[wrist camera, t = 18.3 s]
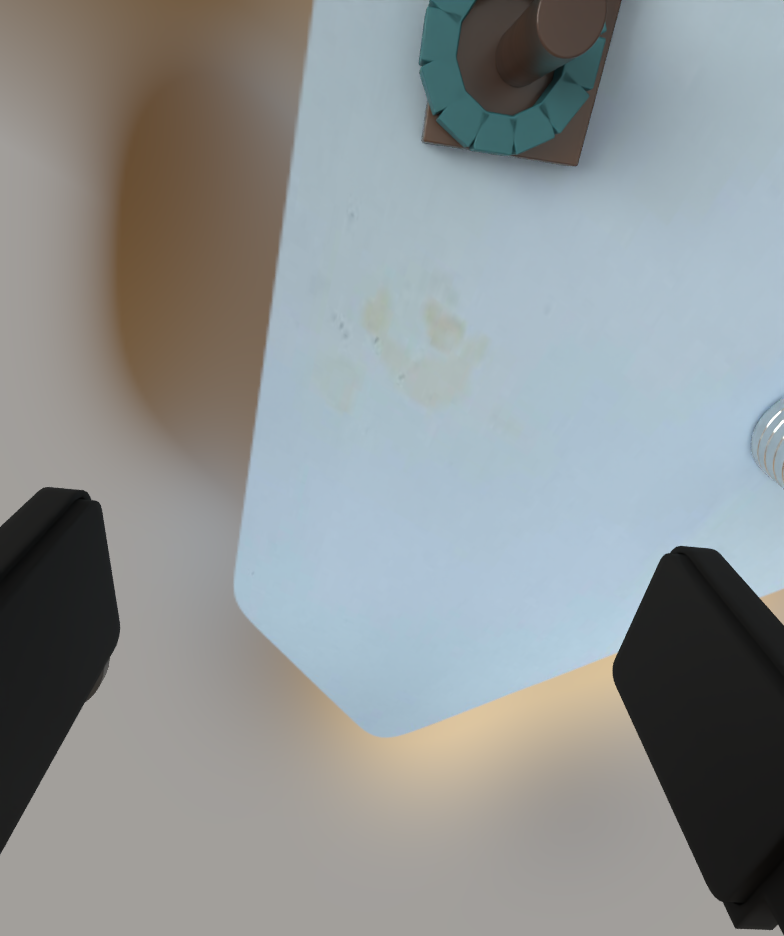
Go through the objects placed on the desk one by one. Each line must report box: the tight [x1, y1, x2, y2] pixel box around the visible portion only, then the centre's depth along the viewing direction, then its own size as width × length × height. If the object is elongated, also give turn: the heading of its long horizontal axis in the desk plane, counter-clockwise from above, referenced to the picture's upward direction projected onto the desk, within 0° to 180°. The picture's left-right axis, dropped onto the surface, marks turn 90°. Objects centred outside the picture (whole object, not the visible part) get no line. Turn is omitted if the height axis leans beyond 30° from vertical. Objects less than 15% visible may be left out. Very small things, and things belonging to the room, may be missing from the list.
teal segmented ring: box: [419, 0, 607, 156], centre depth 25 cm, size 8×8×2 cm
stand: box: [421, 0, 622, 166], centre depth 22 cm, size 8×8×10 cm
